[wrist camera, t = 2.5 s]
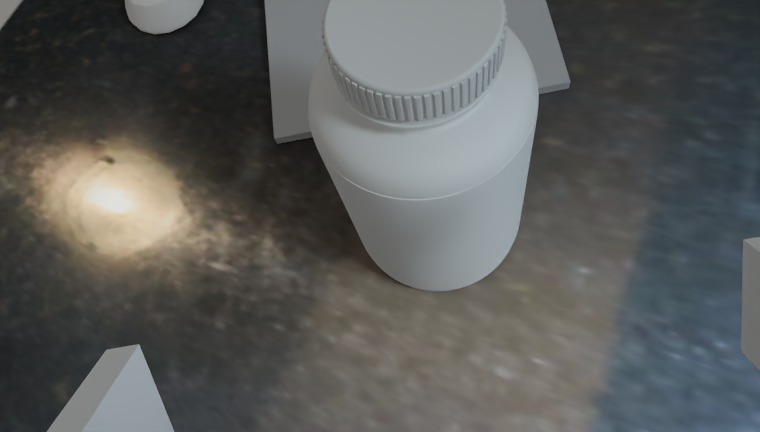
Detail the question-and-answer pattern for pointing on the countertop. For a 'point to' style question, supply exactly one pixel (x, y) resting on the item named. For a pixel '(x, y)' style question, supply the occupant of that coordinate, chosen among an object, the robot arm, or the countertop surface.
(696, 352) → the countertop surface
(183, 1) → the lidless jar
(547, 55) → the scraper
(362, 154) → the pill bottle
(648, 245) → the countertop surface
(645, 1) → the countertop surface
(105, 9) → the countertop surface
